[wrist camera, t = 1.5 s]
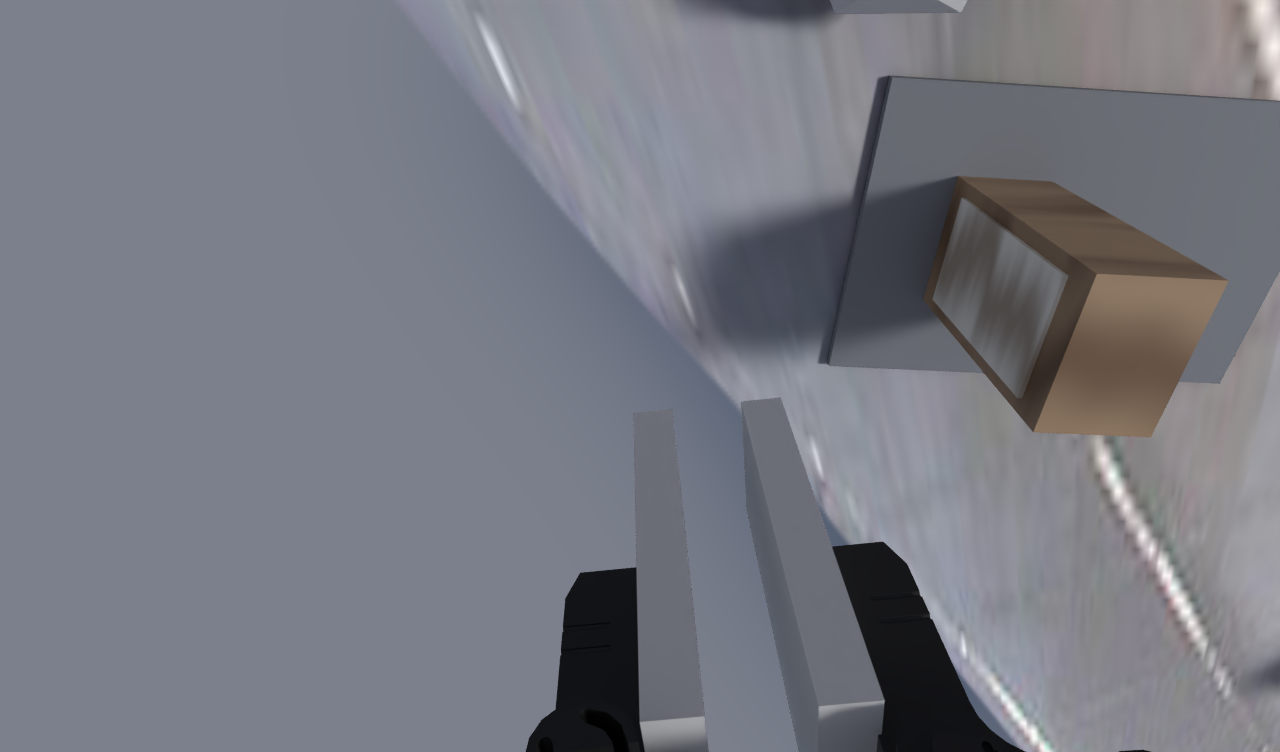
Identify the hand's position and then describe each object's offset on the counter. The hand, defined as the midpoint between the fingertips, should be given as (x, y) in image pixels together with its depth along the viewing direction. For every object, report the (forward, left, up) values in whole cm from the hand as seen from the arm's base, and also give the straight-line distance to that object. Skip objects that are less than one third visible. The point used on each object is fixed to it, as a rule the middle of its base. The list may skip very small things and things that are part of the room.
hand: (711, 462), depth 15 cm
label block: (+4, +18, -26) cm, 32 cm away
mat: (+4, +23, -26) cm, 35 cm away
